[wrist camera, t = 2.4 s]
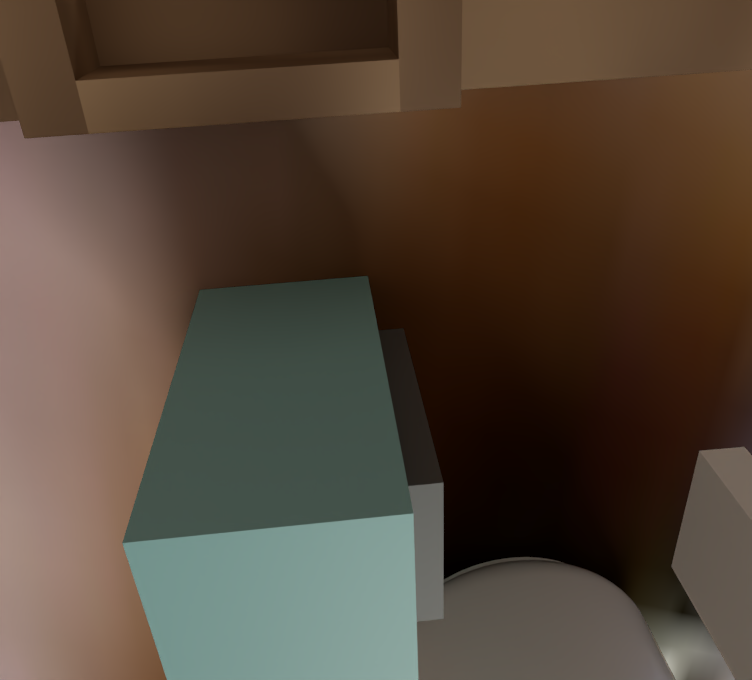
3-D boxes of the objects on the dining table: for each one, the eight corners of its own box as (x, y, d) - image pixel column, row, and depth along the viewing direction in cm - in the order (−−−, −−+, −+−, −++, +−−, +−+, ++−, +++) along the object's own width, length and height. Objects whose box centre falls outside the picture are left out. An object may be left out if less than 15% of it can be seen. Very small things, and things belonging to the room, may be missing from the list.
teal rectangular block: (226, 425, 18) (179, 716, 11) (199, 289, 16) (122, 543, 9) (398, 409, 19) (454, 684, 12) (392, 273, 17) (456, 509, 10)
